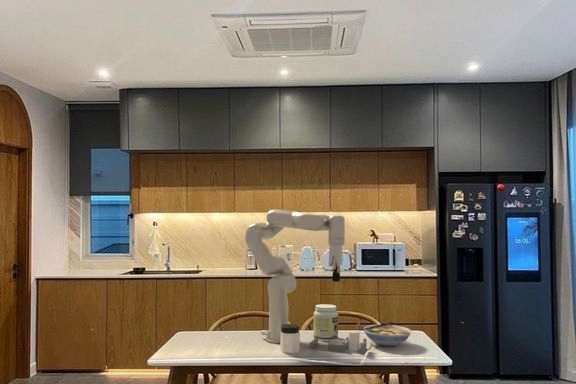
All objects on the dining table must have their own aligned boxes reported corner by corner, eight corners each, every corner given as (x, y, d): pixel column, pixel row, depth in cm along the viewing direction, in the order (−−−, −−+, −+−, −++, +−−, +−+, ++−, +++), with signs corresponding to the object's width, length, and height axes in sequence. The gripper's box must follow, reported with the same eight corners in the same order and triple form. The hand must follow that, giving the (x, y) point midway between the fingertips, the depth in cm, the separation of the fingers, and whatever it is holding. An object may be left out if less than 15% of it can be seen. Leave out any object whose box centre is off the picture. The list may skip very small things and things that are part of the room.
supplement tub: (337, 344, 241) (337, 308, 242) (311, 342, 243) (312, 307, 244) (338, 338, 253) (339, 304, 254) (315, 336, 255) (315, 303, 256)
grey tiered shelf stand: (310, 351, 227) (310, 339, 227) (315, 346, 237) (315, 334, 237) (363, 356, 220) (363, 343, 220) (366, 350, 230) (366, 338, 230)
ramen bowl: (389, 354, 223) (389, 336, 224) (351, 344, 241) (351, 327, 241) (422, 346, 239) (422, 328, 240) (385, 336, 257) (385, 320, 257)
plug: (349, 350, 225) (349, 332, 225) (350, 348, 229) (350, 330, 229) (357, 351, 224) (358, 333, 224) (359, 349, 228) (359, 331, 228)
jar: (277, 354, 222) (277, 326, 222) (283, 349, 229) (283, 323, 230) (296, 356, 219) (297, 328, 220) (301, 351, 227) (302, 324, 227)
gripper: (332, 241, 243) (331, 279, 242) (325, 242, 229) (324, 282, 228) (347, 241, 241) (347, 279, 240) (341, 242, 226) (340, 283, 226)
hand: (336, 281), depth 234 cm, fingers closed
